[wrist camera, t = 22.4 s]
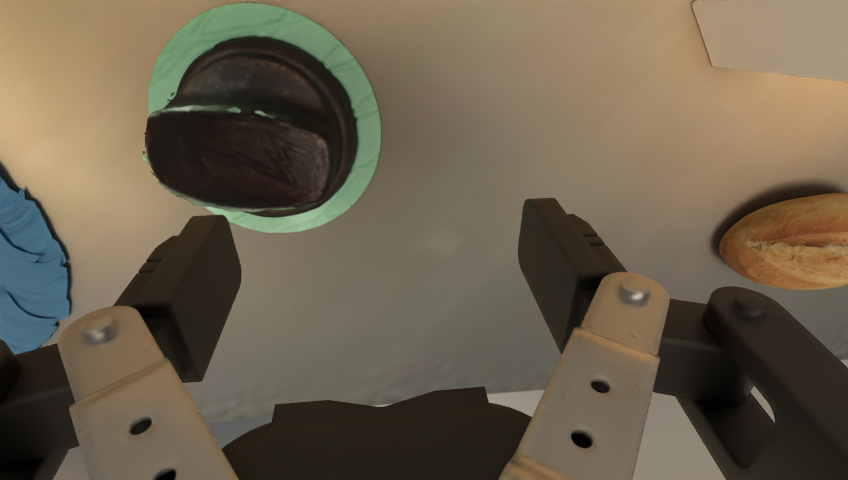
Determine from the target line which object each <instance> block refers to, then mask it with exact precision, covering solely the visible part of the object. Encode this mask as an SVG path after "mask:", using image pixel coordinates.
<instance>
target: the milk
mask: <svg viewBox="0 0 848 480" xmlns="http://www.w3.org/2000/svg"><path fill="white" fill-rule="evenodd" d="M692 7H693V10H694V13H695V16H696V19H697V22H698V25H699V28H700V31H701V34H702V37H703V40H704V43H705V46H706V49H707V52H708V55H709V58H710V61H711V64H712V66H714V67H722V68H731V69H740V70H748V71H757V72H766V73H774V74H783V75H791V76H800V77H809V78H817V79H826V80H834V81H843V82H848V0H696V1H695V2H693V3H692Z"/></svg>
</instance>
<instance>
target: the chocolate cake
mask: <svg viewBox="0 0 848 480" xmlns="http://www.w3.org/2000/svg"><path fill="white" fill-rule="evenodd" d="M179 31H180V32H177V33H176V34H175V35H174V36H173V37H172V39H171V40H170V41H169V42H168V43H167V44H166V46H165V47H164V48H163V50H162V51H161V53H160V54H159V56H158V59H157V61H156V64H155V66H154V69H153V72H152V76H151V81H150V85H149V89H148V108H149V117H148V120H147V128H146V132H145V135H146V136H145V147H146V153H147V157H145V156H144V155H142V159H143V160H144V161H146V162H147V163H148V164H150V166H151V168H152V170H153V172H154V173H152V174H153V175H154V176H156V178H158V179H159V184H160V185H161V186H163V187H164V188H165V189H167V190H169V191H170V192H171V193H172V194H174V195H176V196H177V197H182V198H184V199H186V200H188V201H190V202H191V203H193V204H195V205H200V206H204V207H205V208H206V209H208V210H209V211H211V212H213V213H214V214H216V215H224V216H225V217H226V218H227V220H228V221H229V222H232V223H234V224H237V225H239V226H242V227H245V228H249V229H252V230H256V231H260V232H269V233H292V232H299V231H304V230H308V229H312V228H315V227H318V226H320V225H323V224H325V223H327V222H329V221H331V220H333V219H335V218H336V217H338V216H339V215H341V214H342V213H344V212H345V211H346V210H348V209H349V208H350V207H351V206H352V205H353V204H354V203H355V202H356V201H357V200H358V199H359V197H360V196H361V195H362V193H363V192H364V190H365V189H366V187H367V186H368V184H369V182H370V180H371V178H372V176H373V174H374V171H375V168H376V165H377V162H378V158H379V153H380V145H381V123H380V115H379V110H378V106H377V102H376V99H375V96H374V93H373V90H372V88H371V86H370V83H369V81H368V79H367V78H366V76H365V74H364V72H363V70H362V69H361V67H360V65H359V64H358V62H357V61H356V60H355V58H354V57H353V56H352V54H351V53H350V52H349V51H348V50H347V49H346V48H345V46H344V45H343V44H342V43H341V42H340V41H339V40H337V39H336V38H335V37H334V36H333V35H332V34H330V33H329V32H328V31H327V30H325V29H324V28H323V27H321V26H320V25H318V24H316V23H315V22H313V21H311V20H310V19H308V18H306V17H304V16H302V15H300V14H298V13H295V12H293V11H290V10H287V9H284V8H280V7H277V6H272V5H267V4H259V3H236V4H229V5H224V6H220V7H217V8H214V9H211V10H208V11H206V12H203V13H201V14H200V15H198V16H197V17H195V18H193V19H192V20H191V21H189V22H188V23H187V24H185V25H184V26H183V27H182V28H181V29H180V30H179ZM143 154H145V151H143ZM151 172H152V171H151Z"/></svg>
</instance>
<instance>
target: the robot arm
mask: <svg viewBox="0 0 848 480" xmlns="http://www.w3.org/2000/svg"><path fill="white" fill-rule="evenodd" d="M518 258H519V264H520V268H521V270H522V272H523V274H524V276H525V279H526V281H527V283H528V285H529V287H530V289H531V291H532V293H533V296H534V298H535V300H536V302H537V304H538V306H539V308H540V310H541V312H542V315H543V317H544V319H545V321H546V323H547V325H548V327H549V329H550V332H551V334H552V336H553V338H554V340H555V342H556V344H557V346H558V349H559V351H560V353H561V354H562V355H561V357H560V360H559V362H558V364H557V366H556V368H555V370H554V372H553V374H552V376H551V379H550V381H549V383H548V385H547V387H546V389H545V391H544V393H543V396H542V398H541V400H540V402H539V404H538V406H537V408H536V410H535V413H534V415H533V417H530V416H528V415H526V414H524V413H522V412H520V411H517V410H515V409H512V408H510V407H506V406H502V405H498V404H493V403H489V402H488V398H487V395H486V391H485V387H475V388H463V389H452V390H440V391H433V392H430V393H426V394H423V395H420V396H417V397H414V398H411V399H408V400H404V401H401V402H398V403H395V404H392V405H389V406H385V407H374V406H367V405H360V404H353V403H346V402H338V401H331V400H323V401H311V402H300V403H288V404H276V405H275V409H274V413H273V418H272V422H271V423H268V424H265V425H262V426H260V427H258V428H256V429H253V430H251V431H249V432H247V433H245V434H243V435H242V436H240V437H238V438H237V439H235V440H233V441H232V442H230V443H229V444H227V445H226V446H225V447H223V448H222V449H221V448H220V446H219V445H218V443H217V442H216V440H215V438H214V436H213V435H212V433H211V431H210V429H209V428H208V426H207V424H206V422H205V421H204V419H203V417H202V416H201V414H200V412H199V410H198V409H197V407H196V405H195V404H194V402H193V400H192V398H191V397H190V395H189V393H188V392H187V390H186V388H185V386H184V385H183V383H188V382H200V381H202V380H203V377H204V375H205V372H206V370H207V367H208V365H209V362H210V360H211V357H212V355H213V352H214V350H215V347H216V345H217V342H218V340H219V337H220V335H221V332H222V330H223V327H224V325H225V322H226V320H227V317H228V315H229V312H230V310H231V307H232V305H233V302H234V300H235V297H236V295H237V292H238V290H239V287H240V284H241V265H240V261H239V257H238V254H237V250H236V247H235V243H234V240H233V236H232V233H231V229H230V226H229V222H228V220H227V218H226V217H225V216H224V215H207V216H193V217H191V218H190V220H189V221H188V223H187V224H186V226H185V227H184V229H183V230H182V231H181V233H180V234H179V236H172V237H170V238H169V239H168V240H166V241H165V242H163V243H162V244H160V245H159V246H158V247H156V248H155V250H154V251H153V252H152V254H151V255H150V256H149V258H148V259H147V260H146V261H147V263H144V264H143V266H142V267H141V269H140V270H139V274H136V275H135V277H134V278H133V279H132V281H131V282H130V283H129V285H128V286H127V288H126V289H125V290H124V292H123V293H122V294H121V296H120V297H119V298H118V300H117V301H116V302H115V304H114V305H113V306H112V307H107V308H103V309H99V310H96V311H94V312H91V313H89V314H87V315H85V316H83V317H81V318H79V319H78V320H76V321H75V322H73V323H72V324H71V325H69V326H68V327H67V328H66V329H65V330H64V331H63V333H62V334H61V335H60V337H59V339H58V343H57V344H53V345H50V346H46V347H42V348H38V349H35V350H31V351H27V352H23V353H20V354H16V355H14V354H13V352H12V351H11V349H10V348H9V347H8V345H7V344H6V343H5V341H3V340H1V339H0V480H53V478H54V476H55V474H56V473H57V471H58V469H59V467H60V465H61V463H62V462H63V459H64V458H65V456H66V454H67V452H68V450H69V449H71V448H74V447H77V446H80V448H81V452H82V455H83V458H84V462H85V465H86V469H87V472H88V475H89V479H90V480H632V479H633V475H634V471H635V466H636V462H637V457H638V453H639V448H640V444H641V440H642V435H643V431H644V427H645V422H646V418H647V414H648V409H649V405H650V400H651V396H652V392H656V393H661V394H666V395H672V396H676V398H677V400H678V402H679V403H680V405H681V406H682V408H683V410H684V412H685V413H686V415H687V416H688V418H689V420H690V421H691V423H692V425H693V426H694V428H695V429H696V431H697V433H698V434H699V436H700V438H701V439H702V441H703V443H704V444H705V446H706V448H707V449H708V451H709V452H710V454H711V456H712V457H713V459H714V461H715V462H716V464H717V465H718V467H719V469H720V470H721V472H722V474H723V475H724V477H725V479H726V480H848V368H847V367H846V366H845V365H844V364H843V363H842V362H841V361H840V360H839V359H838V358H837V357H836V356H835V355H834V354H832V353H831V352H830V351H829V350H828V349H827V348H826V347H825V346H824V345H823V344H822V343H821V342H820V341H819V340H817V339H816V338H815V337H814V336H813V335H812V334H811V333H810V332H809V331H808V330H807V329H806V328H805V327H804V326H803V325H801V324H800V323H799V322H798V321H797V320H796V319H795V318H794V317H793V316H792V315H791V314H790V313H789V312H788V311H786V310H785V309H784V308H783V307H782V306H781V305H780V304H779V303H777V302H776V301H774V300H773V299H771V298H769V297H767V296H765V295H763V294H761V293H759V292H756V291H753V290H749V289H746V288H741V287H722V288H718V289H716V290H715V291H713V293H712V294H711V296H710V299H709V301H708V303H707V304H702V303H695V302H688V301H681V300H675V299H670V298H669V295H668V293H667V291H666V290H665V289H664V288H663V287H662V286H661V285H660V284H658V283H657V282H656V281H654V280H652V279H650V278H648V277H645V276H642V275H639V274H635V273H629V272H627V271H626V269H625V268H624V267H623V266H622V264H621V263H620V262H619V261H618V259H617V258H616V257H615V256H614V254H613V253H612V252H611V251H610V249H609V248H608V247H607V246H605V245H604V242H603V241H602V239H601V238H600V237H599V236H597V233H596V232H595V231H594V229H593V228H592V227H591V226H590V224H589V223H587V222H586V221H584V220H582V219H581V218H579V217H577V216H576V215H574V214H566V212H565V211H564V210H563V208H562V207H561V206H560V204H559V203H558V202H557V200H556V199H555V198H539V199H527V200H526V201H525V203H524V206H523V213H522V221H521V229H520V237H519V245H518ZM754 386H755V387H756V388H757V389H758V391H759V392H760V393H761V394H762V396H763V397H764V398H765V399H766V400H767V402H768V403H769V405H770V407H771V409H772V411H773V414H774V418H775V423H774V422H773V420H772V419H771V418H770V416H769V415H768V414H767V413H766V412H765V410H764V409H763V408H762V406H761V405H760V404H759V402H758V401H757V400H756V399H755V397H754V396H753V395H752V394H751V390H752V388H753V387H754Z"/></svg>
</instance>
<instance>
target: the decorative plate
mask: <svg viewBox="0 0 848 480" xmlns="http://www.w3.org/2000/svg"><path fill="white" fill-rule="evenodd" d="M66 261H67V260H66V258H65V256H64V253H63V252H62V250H61V247H60V245H59V243H58V242H57V241H55V240H54V239H53V238H52V236H51V234H50V231H49V230H48V228H47V225H46V222H45V220H44V218H43V217H42V215H41V212H40V210H39V209H38V208H37V206H36V204H35V202H33V201H28V200H25V195H24V190H23V189H22V188H21V189H20V191H19V194H18V193H17V192H15V191H13V190H11V189H9V187H8V186H7V184H6V183H5V181H4V180H3V179H2V178H1V177H0V339H1V340H3V341H5V343H6V344H7V345H8V347H9V348H10V349H11V351H12V352H13V354H14V355H16V354H20V353H23V352H27V351H31V350H35V349H38V347H39V346H40V345H42V344H43V343H45V342H46V341H47V340H48V339H49V338H50V336H51V334H52V333H53V332H54V331H55V330H56V329H57V326H55V323H56V322H57V321H58V320H59V319H61V318H65V317H68V316H69V300H67V298H66V296H67V287H68V281H67V276H68V274H67V268H66V267H62V266H63V265H64V264H65V262H66Z"/></svg>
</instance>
